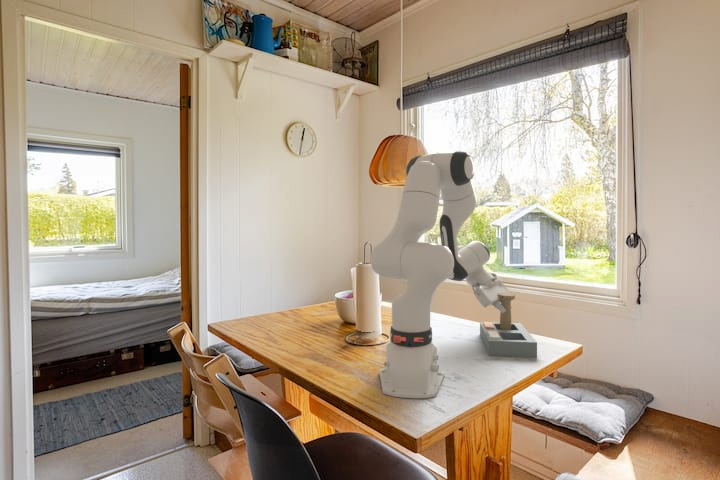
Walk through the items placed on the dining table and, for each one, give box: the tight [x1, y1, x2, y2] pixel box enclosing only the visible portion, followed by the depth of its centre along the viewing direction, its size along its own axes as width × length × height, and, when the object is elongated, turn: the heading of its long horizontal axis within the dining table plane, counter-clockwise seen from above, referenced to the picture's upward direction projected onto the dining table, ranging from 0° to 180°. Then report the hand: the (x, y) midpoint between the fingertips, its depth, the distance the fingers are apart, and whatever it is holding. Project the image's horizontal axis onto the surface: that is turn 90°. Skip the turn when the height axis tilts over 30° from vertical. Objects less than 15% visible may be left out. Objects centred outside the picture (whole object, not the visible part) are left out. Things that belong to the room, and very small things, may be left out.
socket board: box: [479, 321, 538, 359], centre depth 143 cm, size 24×15×6 cm, turn 170°
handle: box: [497, 293, 516, 330], centre depth 148 cm, size 5×6×15 cm
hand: (507, 310), depth 148 cm, fingers closed on handle, 3 cm apart
